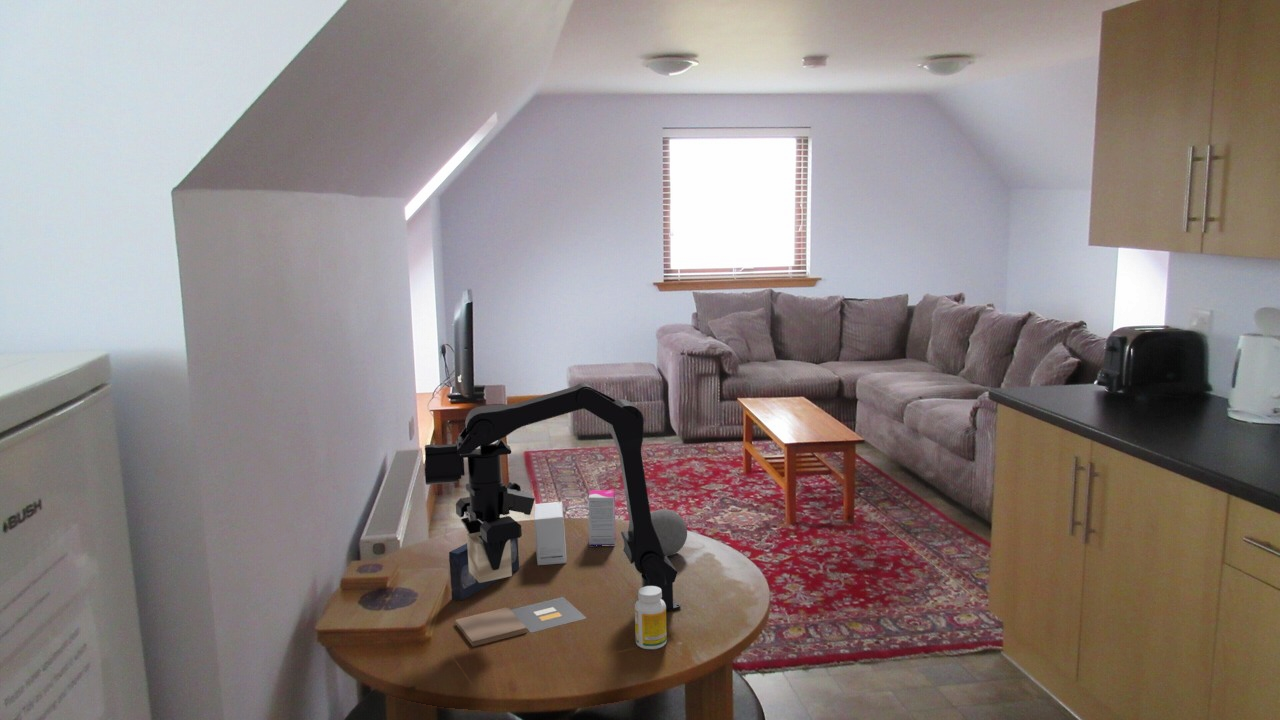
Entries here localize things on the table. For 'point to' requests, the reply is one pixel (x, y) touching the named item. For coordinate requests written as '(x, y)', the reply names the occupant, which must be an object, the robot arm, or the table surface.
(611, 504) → the supplement box
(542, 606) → the gray tile
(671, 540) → the decorative ball
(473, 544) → the maple block
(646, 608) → the supplement bottle
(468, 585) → the vhs cassette tape
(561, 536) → the skincare box
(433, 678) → the table surface
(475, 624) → the walnut pad
